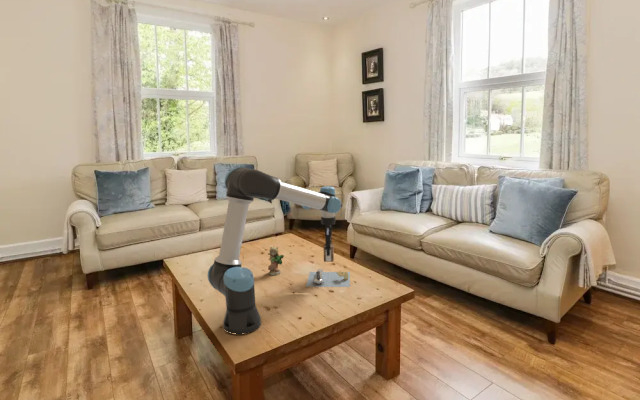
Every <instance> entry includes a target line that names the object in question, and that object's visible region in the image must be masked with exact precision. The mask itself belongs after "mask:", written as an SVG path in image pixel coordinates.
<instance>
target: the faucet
mask: <svg viewBox="0 0 640 400" xmlns="http://www.w3.org/2000/svg"><path fill="white" fill-rule="evenodd" d="M317 271H320V279H317V278H314V284H317V285H319V284H322V283H323V279H322V277H323V272H324V269H317ZM317 271H316V272H317Z"/></svg>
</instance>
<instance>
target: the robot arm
mask: <svg viewBox="0 0 640 400" xmlns="http://www.w3.org/2000/svg"><path fill="white" fill-rule="evenodd" d="M224 186H225V188H226V193H225V194H226V195H225V197H226V199H227V200H228V204H227V210H226V216H225V220H224V226H223V231H222V236H221V243H220V248H219V254H218V256H216V257H215V258H214V260H213V263H212V265H210V267H209V268H208V271H207V281H208V282H209V284H210V286H211V287H213V288H214V289H215V290H216V291H218V292H219V293H220V294H222V295H223V296H224V297H225V306H226V311H225V314H224V319H223V330H224V329H225V330H226V331H228V332H231V333H236V334H242V333H248V332H251V333H253V332H255V331H257V330H258V329H259V328H260V327H261V325H262V317H261V315H260V313H259V311H258V308H257V306H256V305H257V304H256V293H255V291H256V290H255V277H254V274H253V272H252V270H251V269H250V268H247V267H243V266H242V264H243V262H242V260H241V259H240V254H241V250H242V244H243V239H244V233H245V227H246V222H247V216H248V212H249V206H250V204H251V203H253V202H254V198H257V199H265V200H269V201H274V200H279V201H284V202H288V203H291V204H295V205H299V206H301V207H302V208H303V209H304V210H311V209H315V210H319V211H320V216H321V217H320V224H321V225H324V229H323V231H324V236H325V238H324V239H325V243H324V244H326V248H324V247H323V251H324V250H326V261H331V244H334V243H332V242H333V241H332V235H333V226H332V225H335V224H336V214H337V213H338V212H340V209H341V208H342V201H341V199H340V198H338V197H336V189H335V187H334V186H328V185H326V186H321V187H320V190H319V191H314V190H310V189H308V188H305V187H300V186H298V185H294V184H291V183H289V182H288V183H287V182H284V181H281V180H280V179H279V178H278V177H276V176H273V175H270V174H267V173H265V172H263V171H260V170H259V169H255V168H254V169H253V168H247V167H234V168H232V169H231V170H229V171H228V172H227V174H226V175H225V177H224ZM256 329H257V330H256ZM225 330H224V331H225ZM254 330H255V331H254ZM226 331H225V332H226ZM252 331H253V332H252ZM248 334H249V333H248Z"/></svg>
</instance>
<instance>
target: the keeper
mask: <svg viewBox="0 0 640 400" xmlns="http://www.w3.org/2000/svg"><path fill="white" fill-rule="evenodd" d="M336 272H337V274H338V276H339V277H342V276H344V279H345V280H348V273H347V272H348V271H342V270H339V271H336Z"/></svg>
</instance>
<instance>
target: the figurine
mask: <svg viewBox="0 0 640 400" xmlns="http://www.w3.org/2000/svg"><path fill="white" fill-rule="evenodd" d="M278 249H279V247H278V246H270V247H269V251H268V253H267V255H269V258H268V260H269V261H270V265H268V267H267V270H268V271H269V272H268V274H269V276H278V275H280V274H281V270H280V269H279V265H282V264H283V261H282V259H284V254H279V250H278Z"/></svg>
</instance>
